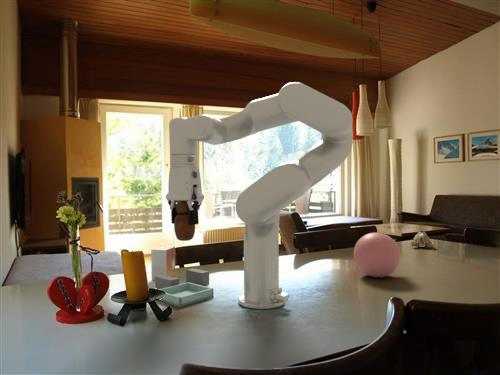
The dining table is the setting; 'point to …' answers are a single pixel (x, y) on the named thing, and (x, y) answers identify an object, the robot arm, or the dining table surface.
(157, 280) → the grey blocks
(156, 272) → the small box
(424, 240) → the ceramic sculpture
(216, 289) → the dining table surface
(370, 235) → the pink rubber ball
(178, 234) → the wooden figurine
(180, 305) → the tray
